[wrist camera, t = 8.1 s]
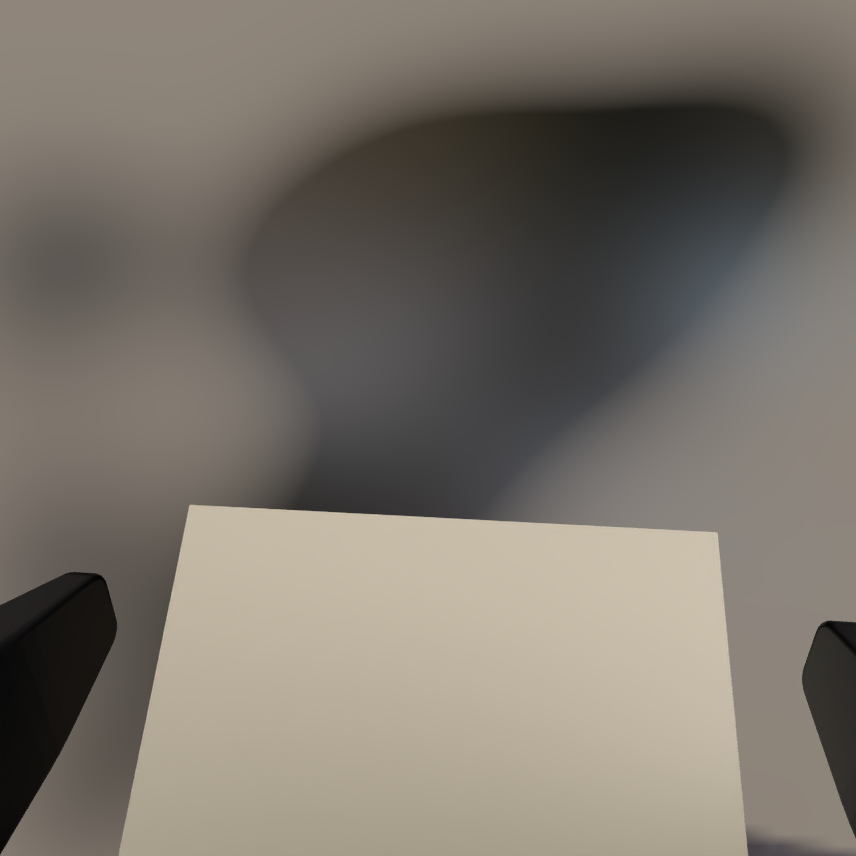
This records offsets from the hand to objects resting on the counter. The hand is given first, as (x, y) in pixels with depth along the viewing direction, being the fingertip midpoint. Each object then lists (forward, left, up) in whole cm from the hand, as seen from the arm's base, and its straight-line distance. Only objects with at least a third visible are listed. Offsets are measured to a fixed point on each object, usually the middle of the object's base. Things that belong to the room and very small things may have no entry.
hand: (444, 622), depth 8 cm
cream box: (-1, -1, -9) cm, 9 cm away
